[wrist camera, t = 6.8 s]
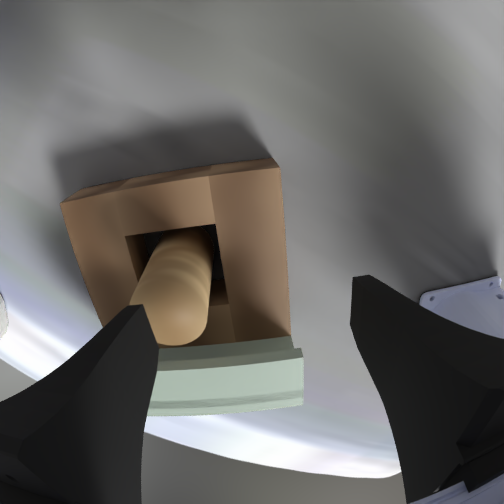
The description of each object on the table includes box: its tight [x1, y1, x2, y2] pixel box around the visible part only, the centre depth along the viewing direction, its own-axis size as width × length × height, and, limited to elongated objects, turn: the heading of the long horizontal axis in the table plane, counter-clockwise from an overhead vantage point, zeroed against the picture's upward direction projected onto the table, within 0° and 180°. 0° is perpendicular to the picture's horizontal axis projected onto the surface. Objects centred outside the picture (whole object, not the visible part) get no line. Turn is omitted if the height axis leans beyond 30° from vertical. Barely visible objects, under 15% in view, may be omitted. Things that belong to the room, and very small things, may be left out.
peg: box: [130, 226, 214, 345], centre depth 17 cm, size 4×4×7 cm
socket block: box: [60, 158, 291, 349], centre depth 19 cm, size 12×12×3 cm
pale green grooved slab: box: [147, 336, 303, 416], centre depth 19 cm, size 12×4×8 cm, turn 96°
